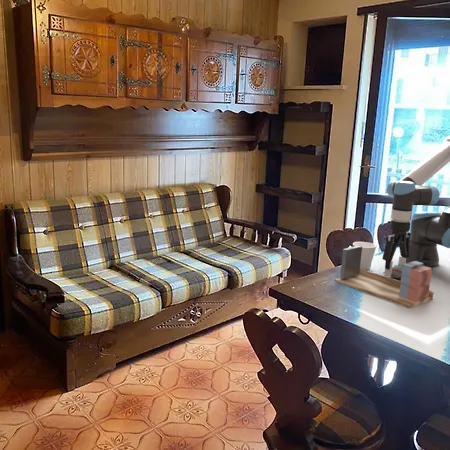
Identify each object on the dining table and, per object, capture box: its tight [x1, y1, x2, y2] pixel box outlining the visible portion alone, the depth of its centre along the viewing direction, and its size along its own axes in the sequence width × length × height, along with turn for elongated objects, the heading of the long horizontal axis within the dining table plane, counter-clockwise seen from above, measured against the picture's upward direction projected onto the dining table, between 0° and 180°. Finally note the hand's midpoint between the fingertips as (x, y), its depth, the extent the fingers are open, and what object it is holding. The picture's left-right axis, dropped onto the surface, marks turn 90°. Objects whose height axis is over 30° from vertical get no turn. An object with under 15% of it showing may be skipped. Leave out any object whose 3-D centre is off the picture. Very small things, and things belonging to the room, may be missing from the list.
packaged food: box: [383, 264, 403, 281], centre depth 190 cm, size 9×12×5 cm
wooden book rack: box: [335, 261, 434, 309], centre depth 176 cm, size 15×32×13 cm, turn 38°
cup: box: [352, 241, 377, 271], centre depth 201 cm, size 10×10×11 cm
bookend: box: [339, 246, 362, 280], centre depth 186 cm, size 10×2×12 cm, turn 128°
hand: (394, 274), depth 192 cm, fingers closed on packaged food, 9 cm apart
